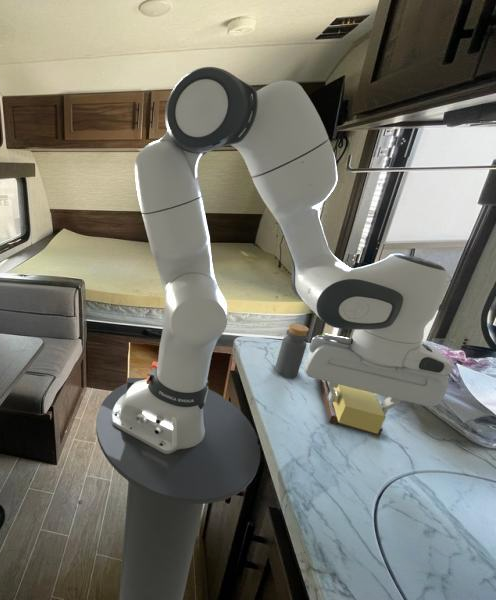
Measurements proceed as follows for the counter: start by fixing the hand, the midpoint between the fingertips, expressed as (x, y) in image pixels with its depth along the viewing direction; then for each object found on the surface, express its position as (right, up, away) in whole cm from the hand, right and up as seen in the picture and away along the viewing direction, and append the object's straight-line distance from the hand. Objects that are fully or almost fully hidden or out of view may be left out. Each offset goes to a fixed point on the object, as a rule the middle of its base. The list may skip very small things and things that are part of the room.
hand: (355, 406), depth 63 cm
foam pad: (0, -2, +1) cm, 2 cm away
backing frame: (+14, -5, +21) cm, 25 cm away
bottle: (+5, -1, +32) cm, 32 cm away
